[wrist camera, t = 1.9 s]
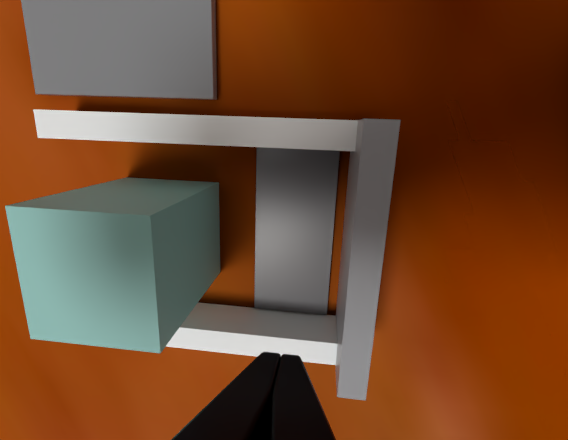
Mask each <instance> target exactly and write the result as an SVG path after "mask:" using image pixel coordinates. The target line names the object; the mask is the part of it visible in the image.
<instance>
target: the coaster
mask: <svg viewBox="0 0 568 440" xmlns="http://www.w3.org/2000/svg"><path fill="white" fill-rule="evenodd" d="M21 2H22V9H23V15H24V22H25V28H26V35H27V41H28V48H29V54H30V61H31V67H32V74H33V80H34V86H35V93H36V94H41V95H58V96H93V97H128V98H164V99H199V100H217V61H216V3H215V0H21Z"/></svg>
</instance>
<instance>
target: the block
mask: <svg viewBox="0 0 568 440" xmlns="http://www.w3.org/2000/svg"><path fill="white" fill-rule="evenodd" d="M5 208H6V213H7V219H8V224H9V229H10V234H11V239H12V245H13V250H14V255H15V260H16V265H17V271H18V276H19V281H20V286H21V291H22V296H23V302H24V307H25V312H26V317H27V322H28V328H29V333H30V338H31V339H38V340H47V341H56V342H65V343H74V344H83V345H92V346H100V347H109V348H118V349H127V350H136V351H145V352H154V353H161V352H162V350H163V349H164V348H165V346H166V345H167V344H168V342H169V341H170V340H171V338H172V337H173V336H174V334H175V333H176V331H177V330H178V329H179V327H180V326H181V325H182V323H183V322H184V321H185V319H186V318H187V317H188V315H189V314H190V312H191V311H192V310H193V308H194V307H195V306H196V304H197V303H198V302H199V300H200V299H201V298H202V296H203V295H204V294H205V292H206V291H207V289H208V288H209V287H210V285H211V284H212V283H213V281H214V280H215V279H216V277H217V276H218V275H219V273H220V219H219V182H201V181H183V180H165V179H147V178H129V177H127V178H123V179H118V180H114V181H110V182H106V183H101V184H97V185H93V186H88V187H84V188H80V189H76V190H71V191H67V192H63V193H58V194H54V195H50V196H45V197H41V198H37V199H33V200H28V201H24V202H20V203H15V204H11V205H7V206H5Z"/></svg>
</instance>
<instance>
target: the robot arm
mask: <svg viewBox="0 0 568 440" xmlns="http://www.w3.org/2000/svg"><path fill="white" fill-rule="evenodd" d="M171 440H336V439H335V436H334V434H333V432H332V429H331V427H330V425H329V422H328V420H327V418H326V415H325V413H324V411H323V408H322V406H321V404H320V401H319V399H318V397H317V394H316V392H315V390H314V387H313V385H312V383H311V380H310V378H309V376H308V373H307V371H306V369H305V366H304V364H303V362H302V359H301V358H300V356H298V355H291V354H283V355H282V356H281V355H280V354H279V353H273V352H262V353H261V354H260V355H259V356H258V357H257V358H256V359H255V360H254V361H253V362H252V363H250V364H249V365H248V366H247V367H246V368H245V369H244V370H243V371H242V372H241V373H240V374H239V375H238V376H237V377H236V378H235V379H234V380H233V381H232V382H231V383H230V384H229V385H228V386H227V387H226V388H224V389H223V390H222V391H221V392H220V393H219V394H218V395H217V396H216V397H215V398H214V399H213V400H212V401H211V402H210V403H209V404H208V405H207V406H206V407H205V408H204V409H203V410H202V411H201V412H200V413H199V414H197V415H196V416H195V417H194V418H193V419H192V420H191V421H190V422H189V423H188V424H187V425H186V426H185V427H184V428H183V429H182V430H181V431H180V432H179V433H178V434H177V435H176V436H175V437H174V438H173V439H171Z"/></svg>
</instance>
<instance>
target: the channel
mask: <svg viewBox="0 0 568 440" xmlns="http://www.w3.org/2000/svg"><path fill="white" fill-rule="evenodd" d="M34 116H35V122H36V129H37V135H38V138H56V139H79V140H103V141H126V142H149V143H172V144H195V145H218V146H241V147H257V157H256V232H255V307H254V308H251V307H240V306H230V305H219V304H209V303H197V304H196V306H195V307H194V308H193V310H192V311H191V312H190V314H189V315H188V317H187V318H186V319H185V321H184V322H183V323H182V325H181V326H180V327H179V329H178V330H177V331H176V333H175V334H174V336H173V337H172V338H171V340H170V341H169V342H168V344H167V345H166V346H167V347H176V348H185V349H194V350H203V351H212V352H221V353H230V354H239V355H248V356H259V355H260V354H261V353H262V352H273V353H279V354H280V355H281V356H282V355H283V354H291V355H298V356H300V358H301V359H302V361H303V362H312V363H321V364H330V365H336V385H337V397H341V398H349V399H358V400H366V393H367V385H368V377H369V369H370V361H371V353H372V345H373V337H374V329H375V321H376V313H377V305H378V297H379V289H380V281H381V273H382V265H383V257H384V249H385V241H386V233H387V225H388V217H389V209H390V201H391V193H392V185H393V177H394V169H395V161H396V152H397V144H398V136H399V128H400V120H392V119H361V120H331V119H302V118H272V117H242V116H212V115H182V114H152V113H123V112H93V111H63V110H34ZM340 151H350V158H349V169H348V181H347V192H346V204H345V215H344V226H343V238H342V249H341V261H340V272H339V284H338V295H337V306H336V316H335V315H327V305H328V292H329V280H330V267H331V255H332V242H333V229H334V217H335V204H336V192H337V179H338V166H339V154H340Z"/></svg>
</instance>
